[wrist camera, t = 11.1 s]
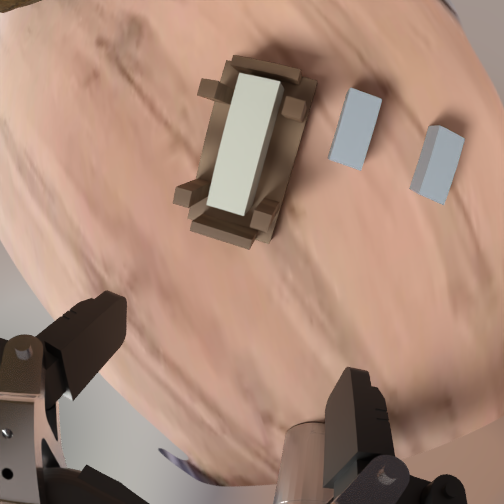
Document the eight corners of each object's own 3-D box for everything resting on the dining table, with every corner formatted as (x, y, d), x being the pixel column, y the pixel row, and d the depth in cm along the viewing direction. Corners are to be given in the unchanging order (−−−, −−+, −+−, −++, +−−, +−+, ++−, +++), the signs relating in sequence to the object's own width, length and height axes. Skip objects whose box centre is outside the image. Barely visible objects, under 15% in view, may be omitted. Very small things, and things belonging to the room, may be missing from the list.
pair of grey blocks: (432, 199, 27) (443, 205, 25) (327, 157, 28) (329, 159, 26) (452, 137, 25) (464, 138, 22) (346, 92, 26) (350, 87, 23)
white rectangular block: (284, 89, 26) (280, 81, 22) (252, 206, 30) (243, 216, 27) (248, 81, 26) (239, 72, 22) (219, 196, 31) (206, 204, 27)
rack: (270, 240, 32) (260, 265, 26) (191, 215, 33) (164, 234, 27) (317, 83, 26) (318, 67, 20) (229, 62, 27) (208, 45, 20)
